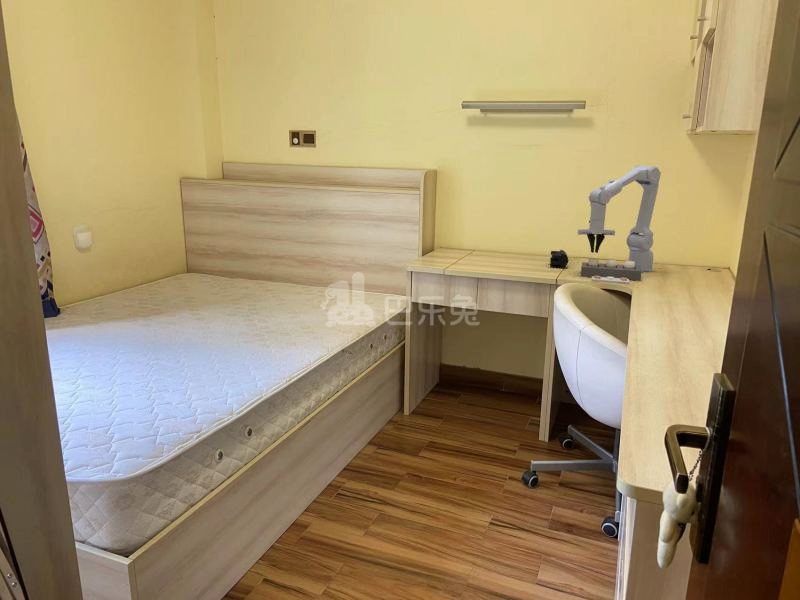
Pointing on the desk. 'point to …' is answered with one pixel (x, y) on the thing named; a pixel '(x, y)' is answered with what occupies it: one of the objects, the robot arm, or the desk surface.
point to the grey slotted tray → (611, 271)
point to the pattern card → (610, 279)
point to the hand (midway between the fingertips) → (594, 252)
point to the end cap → (558, 259)
